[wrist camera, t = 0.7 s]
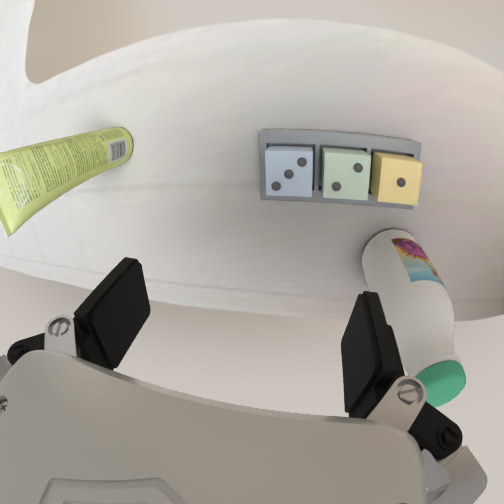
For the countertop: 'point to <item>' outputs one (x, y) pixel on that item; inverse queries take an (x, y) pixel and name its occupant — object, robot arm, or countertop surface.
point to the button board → (332, 140)
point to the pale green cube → (345, 173)
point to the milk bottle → (415, 312)
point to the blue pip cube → (289, 170)
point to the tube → (55, 171)
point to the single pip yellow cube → (395, 178)
